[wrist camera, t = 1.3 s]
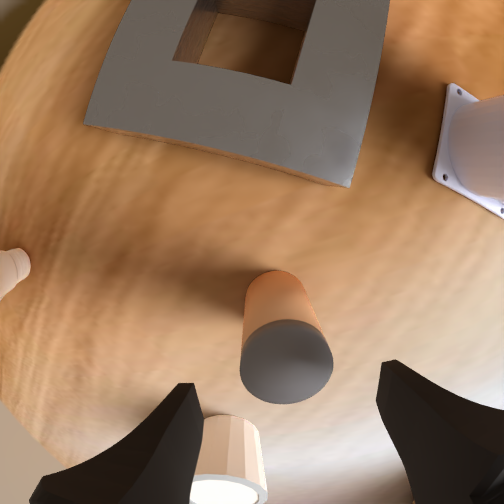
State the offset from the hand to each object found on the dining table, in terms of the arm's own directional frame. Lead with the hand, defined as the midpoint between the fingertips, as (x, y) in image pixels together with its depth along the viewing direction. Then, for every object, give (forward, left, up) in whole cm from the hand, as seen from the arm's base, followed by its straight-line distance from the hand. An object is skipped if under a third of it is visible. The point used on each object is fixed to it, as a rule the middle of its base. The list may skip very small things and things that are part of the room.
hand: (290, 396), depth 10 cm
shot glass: (0, +14, -10) cm, 17 cm away
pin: (0, 0, -10) cm, 10 cm away
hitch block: (+6, -15, -10) cm, 19 cm away
